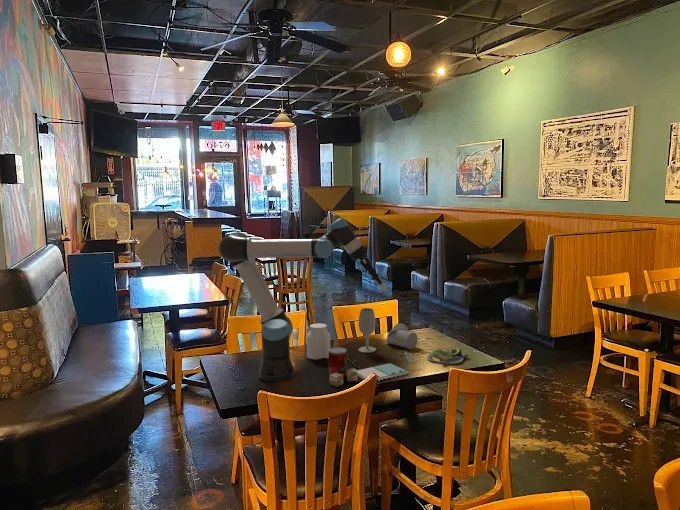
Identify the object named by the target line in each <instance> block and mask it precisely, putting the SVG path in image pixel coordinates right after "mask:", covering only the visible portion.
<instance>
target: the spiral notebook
mask: <svg viewBox="0 0 680 510" xmlns="http://www.w3.org/2000/svg"><path fill="white" fill-rule="evenodd" d="M356 370H357V378H360V379H362V380H363V381H365V380H364V379H365V378H366V377H368V376H369V375H371V374H373V373H375V374H376V375H377V379H378V382H381V381H380V380H383V379H387V380H389V379H388V378H391V379H394V378H393V377H395V378H398V377H397V376H399V377H403V376H406V375H410V373H409V371H407V370H406V369H404V368H401V367H399V366H397V365H395V364H393V363H391V362H389V363H385V364H380V365H376V366H372V367H366V368H363V369H356ZM402 375H403V376H402ZM383 381H384V380H383Z"/></svg>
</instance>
